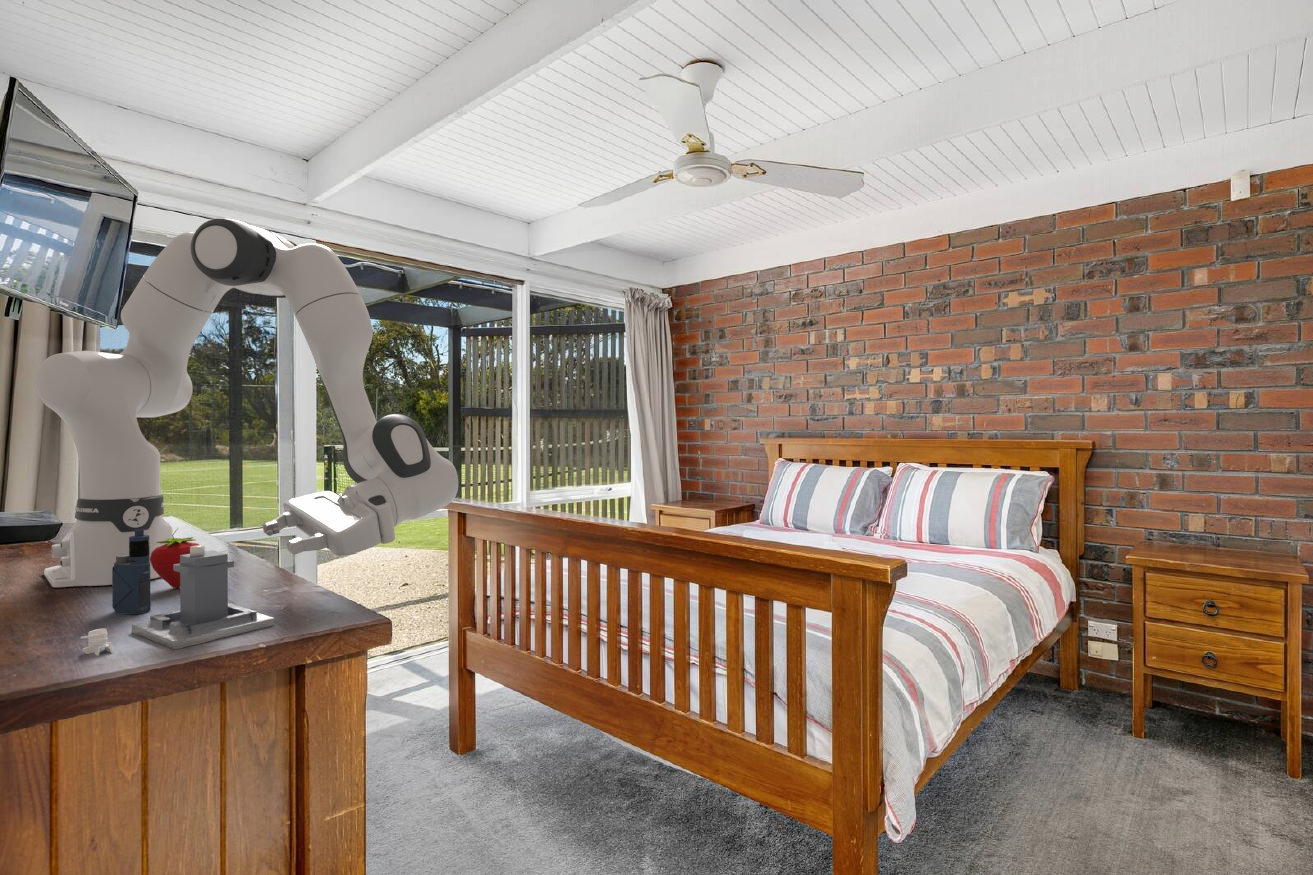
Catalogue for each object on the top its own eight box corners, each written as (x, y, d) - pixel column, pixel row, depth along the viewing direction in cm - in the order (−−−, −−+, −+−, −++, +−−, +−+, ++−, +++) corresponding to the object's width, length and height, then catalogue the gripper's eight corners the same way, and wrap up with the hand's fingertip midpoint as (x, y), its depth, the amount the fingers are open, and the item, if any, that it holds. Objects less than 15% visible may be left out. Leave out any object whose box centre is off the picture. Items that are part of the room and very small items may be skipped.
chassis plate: (131, 632, 89) (131, 617, 89) (229, 611, 99) (229, 597, 99) (174, 649, 82) (174, 633, 82) (274, 625, 93) (274, 610, 92)
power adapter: (110, 651, 83) (110, 625, 83) (116, 656, 81) (116, 630, 81) (78, 657, 81) (78, 631, 80) (84, 663, 79) (83, 636, 79)
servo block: (173, 631, 89) (173, 547, 89) (219, 621, 94) (219, 541, 94) (188, 636, 87) (187, 550, 87) (234, 626, 92) (233, 544, 92)
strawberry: (211, 586, 113) (211, 526, 113) (159, 595, 107) (158, 532, 107) (194, 581, 117) (194, 523, 116) (143, 590, 110) (142, 529, 110)
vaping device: (138, 615, 96) (137, 531, 96) (108, 613, 97) (107, 530, 97) (155, 610, 99) (154, 528, 98) (125, 608, 100) (125, 527, 100)
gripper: (334, 476, 116) (246, 501, 106) (394, 507, 103) (300, 539, 93) (341, 509, 118) (255, 538, 108) (400, 544, 105) (308, 580, 95)
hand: (276, 539), depth 101 cm, fingers open, 8 cm apart
